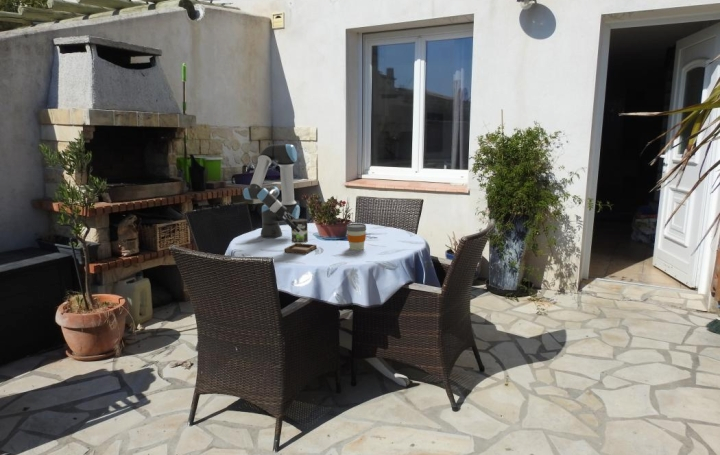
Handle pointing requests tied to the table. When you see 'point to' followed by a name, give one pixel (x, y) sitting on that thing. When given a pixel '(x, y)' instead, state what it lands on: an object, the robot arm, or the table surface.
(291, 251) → the wooden tray
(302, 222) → the coffee can
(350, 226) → the reusable coffee cup
